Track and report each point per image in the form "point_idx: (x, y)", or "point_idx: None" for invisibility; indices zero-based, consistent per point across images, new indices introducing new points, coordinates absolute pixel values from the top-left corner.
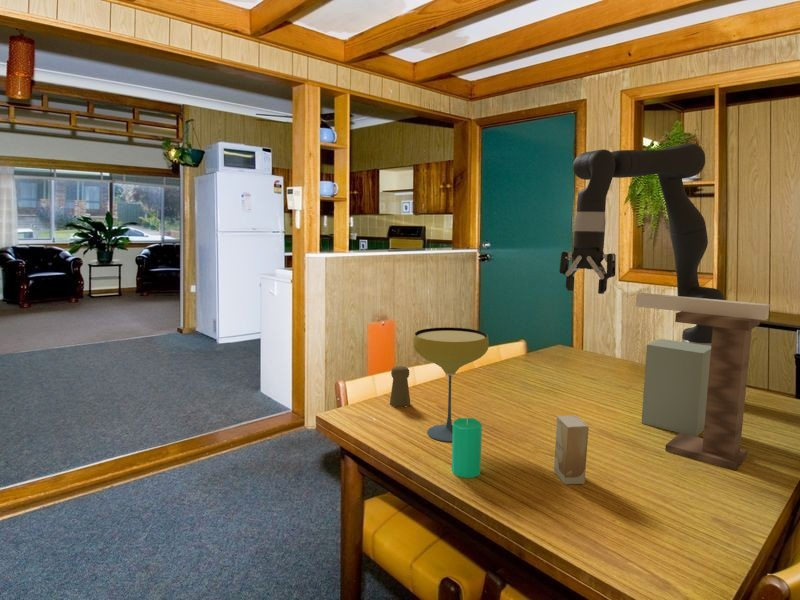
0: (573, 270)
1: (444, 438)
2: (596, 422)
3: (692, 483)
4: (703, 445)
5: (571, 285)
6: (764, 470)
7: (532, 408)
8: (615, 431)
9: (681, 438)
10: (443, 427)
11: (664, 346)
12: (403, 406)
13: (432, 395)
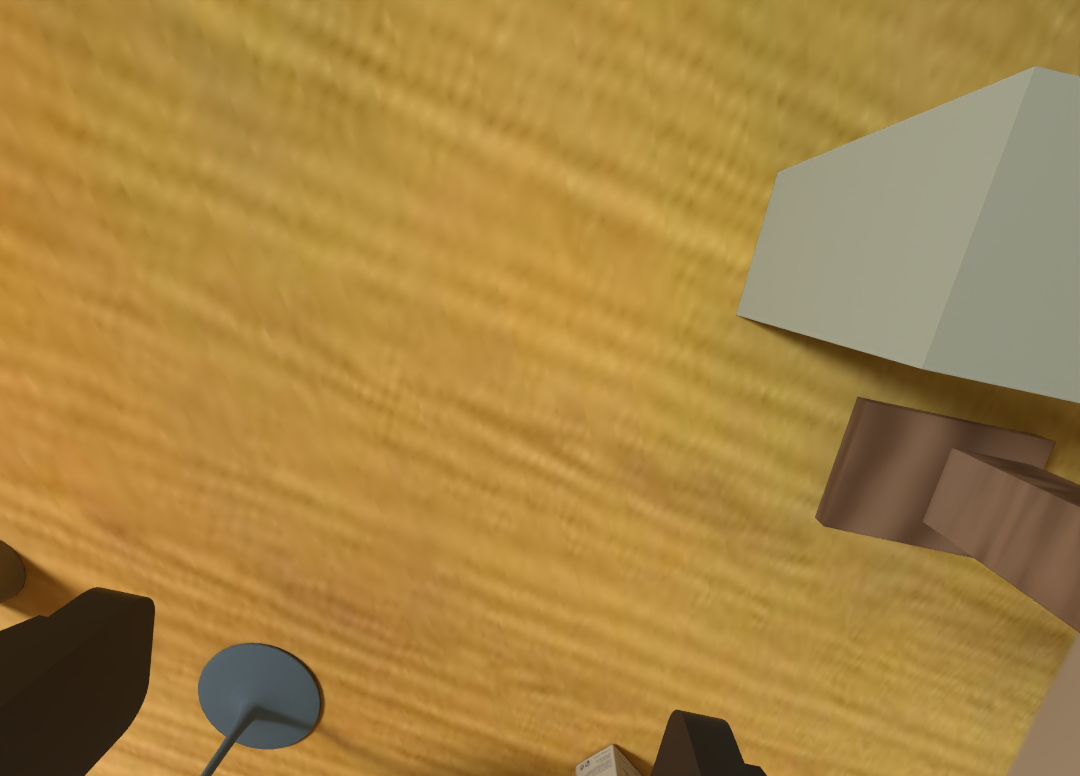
0: None
1: (275, 743)
2: (596, 389)
3: (874, 676)
4: (936, 529)
5: (71, 739)
6: None
7: (363, 369)
8: (665, 439)
9: (870, 451)
10: (236, 710)
11: (1039, 366)
12: (17, 590)
13: (4, 431)
